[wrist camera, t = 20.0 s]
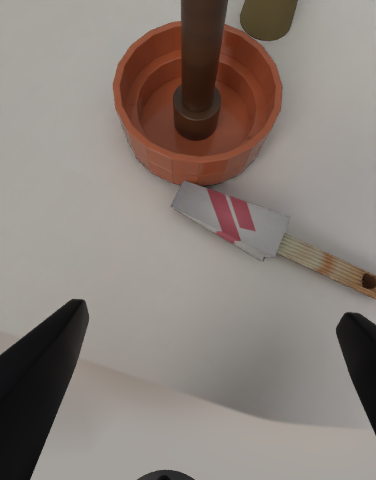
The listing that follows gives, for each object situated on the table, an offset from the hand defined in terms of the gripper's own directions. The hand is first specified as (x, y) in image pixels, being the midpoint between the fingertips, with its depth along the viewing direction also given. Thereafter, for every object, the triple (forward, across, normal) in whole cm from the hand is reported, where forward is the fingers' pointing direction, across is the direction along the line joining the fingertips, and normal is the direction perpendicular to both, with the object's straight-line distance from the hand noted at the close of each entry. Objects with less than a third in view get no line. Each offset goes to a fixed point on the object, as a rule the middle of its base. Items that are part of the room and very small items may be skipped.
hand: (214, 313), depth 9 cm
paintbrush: (+14, -7, +6) cm, 16 cm away
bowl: (+22, +1, -3) cm, 22 cm away
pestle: (+22, +1, -4) cm, 22 cm away
